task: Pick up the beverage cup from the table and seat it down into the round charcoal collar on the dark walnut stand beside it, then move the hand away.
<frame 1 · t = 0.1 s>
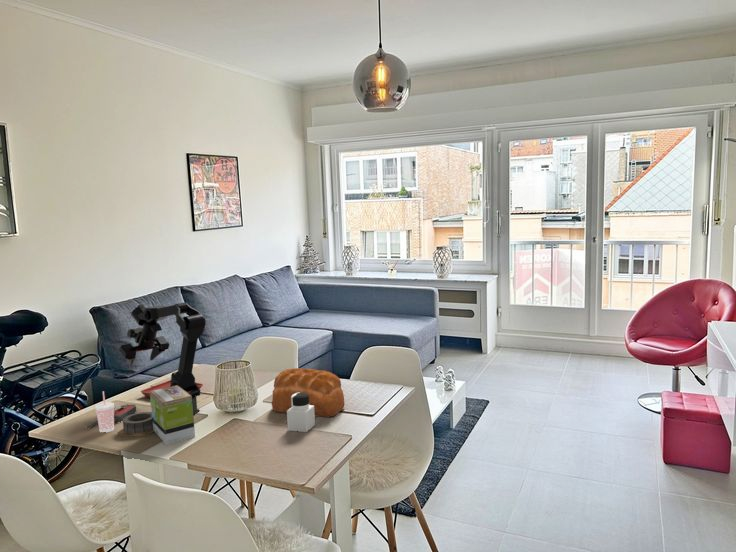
hand: (140, 362, 229), 15 cm above the table, tool tilted 35°, fingers open, 9 cm apart
medicine bottle: (301, 428, 194), on the table
cup holder: (140, 429, 197), on the table
beverage cup: (106, 430, 198), on the table
tea box: (173, 435, 192), on the table
bread: (308, 409, 212), on the table
walkie-talkie: (113, 421, 208), on the table
plant saucer: (172, 395, 235), on the table
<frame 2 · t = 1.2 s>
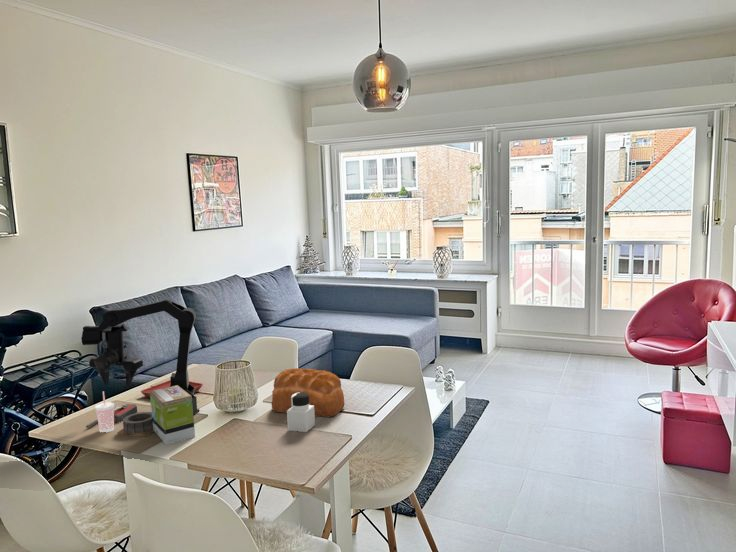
hand: (117, 385, 205), 13 cm above the table, tool pointing down, fingers open, 9 cm apart
nothing on the table moved.
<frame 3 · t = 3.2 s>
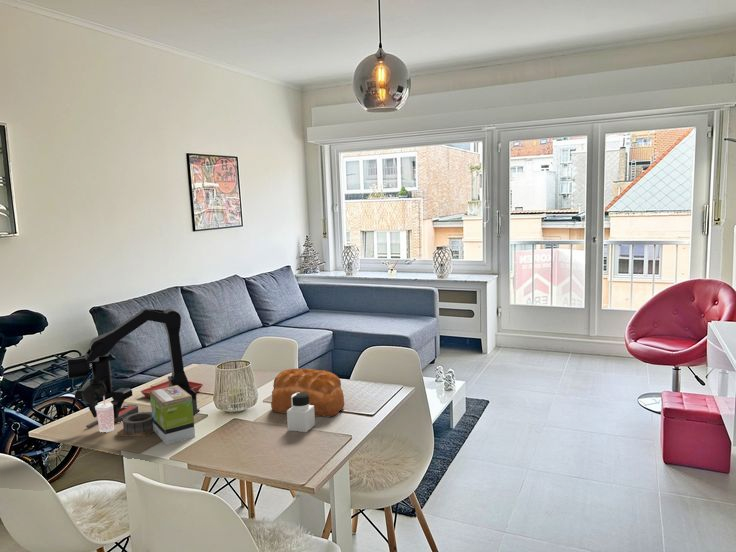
hand: (105, 417, 197), 5 cm above the table, tool pointing down, fingers closed on beverage cup, 8 cm apart
beverage cup: (106, 430, 198), on the table, touching gripper
everything else where it was.
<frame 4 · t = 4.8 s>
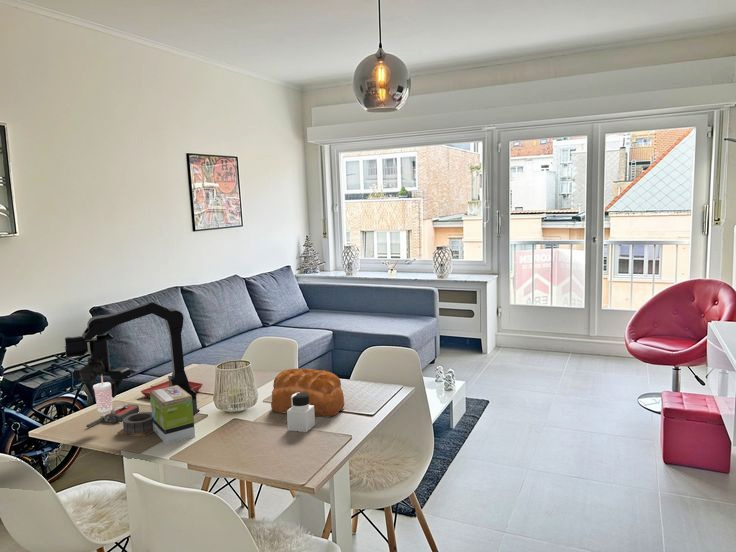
hand: (103, 397, 196), 12 cm above the table, tool pointing down, fingers closed on beverage cup, 8 cm apart
beverage cup: (104, 410, 197), point 7 cm above the table, touching gripper
everything else where it was.
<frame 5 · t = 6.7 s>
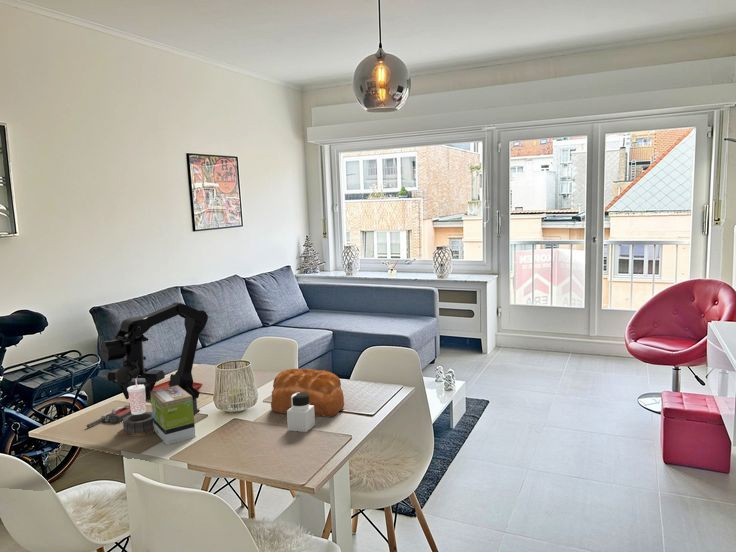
hand: (137, 399, 196), 11 cm above the table, tool pointing down, fingers closed on beverage cup, 7 cm apart
beverage cup: (138, 412, 196), point 6 cm above the table, touching gripper
tea box: (174, 435, 192), on the table, touching gripper
everything else where it was.
when the fingers open (6 cm above the table, at t = 8.2 s): beverage cup stays where it is, resting on cup holder.
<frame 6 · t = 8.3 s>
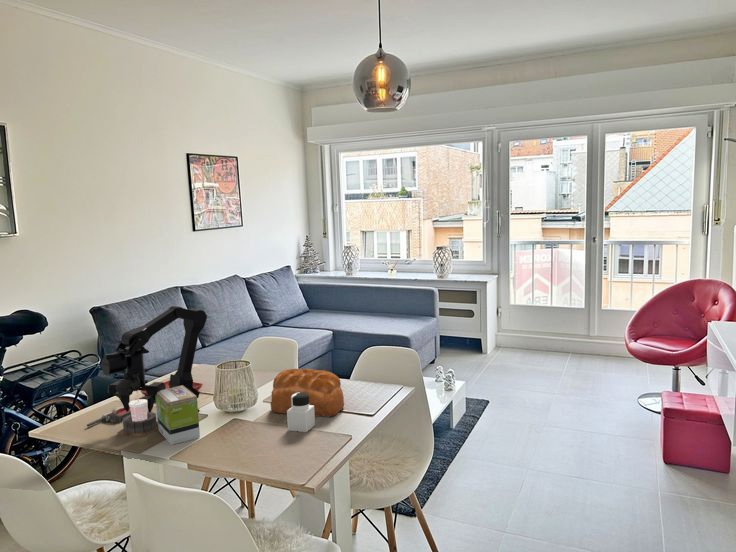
hand: (138, 411, 196), 7 cm above the table, tool pointing down, fingers open, 8 cm apart
beverage cup: (140, 427, 197), point 1 cm above the table, touching cup holder, gripper
tea box: (178, 435, 191), on the table, touching gripper
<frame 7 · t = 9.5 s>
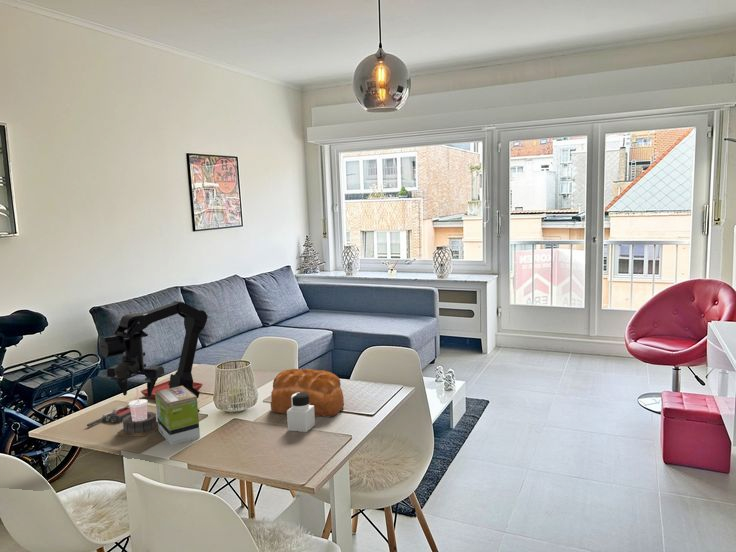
hand: (137, 395, 196), 12 cm above the table, tool pointing down, fingers open, 9 cm apart
beverage cup: (140, 427, 197), point 1 cm above the table, touching cup holder
tea box: (178, 435, 191), on the table
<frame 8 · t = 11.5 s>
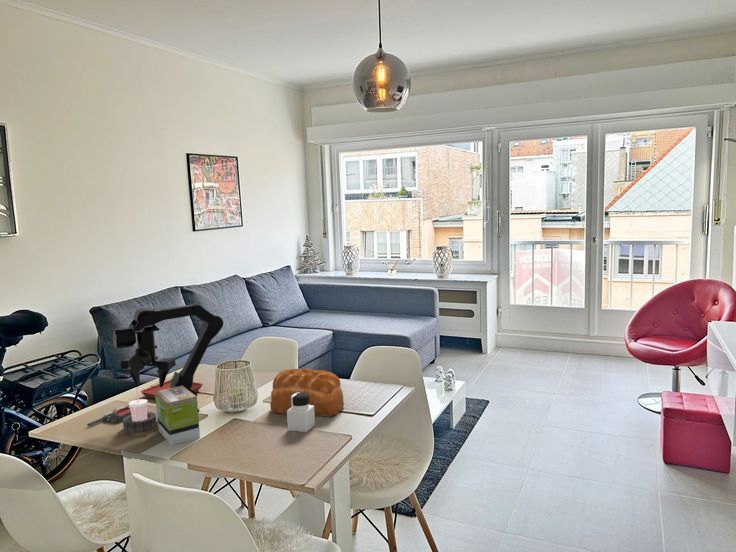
hand: (149, 386, 203), 13 cm above the table, tool pointing down, fingers open, 9 cm apart
at the end: beverage cup 0.0 cm off-centre on the cup holder, point 0.8 cm above the cup holder's base; beverage cup tilted 0°; the gripper is holding nothing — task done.
